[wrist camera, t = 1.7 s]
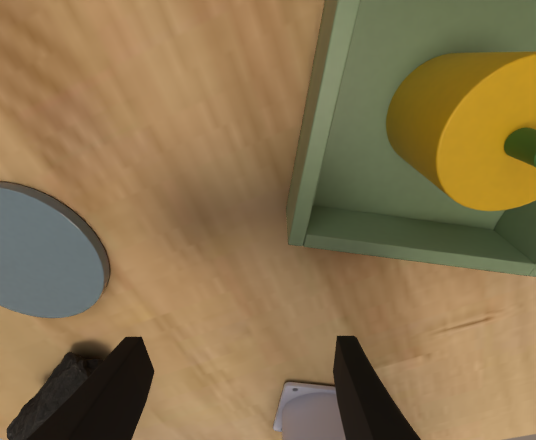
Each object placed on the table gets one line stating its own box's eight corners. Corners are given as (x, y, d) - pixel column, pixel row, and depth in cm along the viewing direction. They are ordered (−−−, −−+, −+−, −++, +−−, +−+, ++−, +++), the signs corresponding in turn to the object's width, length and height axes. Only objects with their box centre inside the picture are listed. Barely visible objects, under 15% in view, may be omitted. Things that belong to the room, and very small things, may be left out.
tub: (658, -33, 12) (808, -68, 9) (493, 237, 19) (542, 278, 15) (341, -90, 12) (368, -151, 8) (285, 209, 18) (287, 245, 15)
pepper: (520, 62, 14) (714, 67, 8) (466, 171, 16) (579, 240, 10) (408, 44, 14) (515, 34, 7) (372, 157, 16) (429, 220, 10)
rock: (106, 340, 25) (61, 414, 20) (145, 407, 30) (117, 480, 25) (10, 344, 26) (-57, 417, 21) (63, 409, 31) (20, 480, 26)
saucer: (98, 194, 18) (90, 199, 18) (118, 318, 24) (113, 325, 23) (-87, 169, 18) (-102, 174, 17) (-24, 301, 23) (-33, 309, 22)
